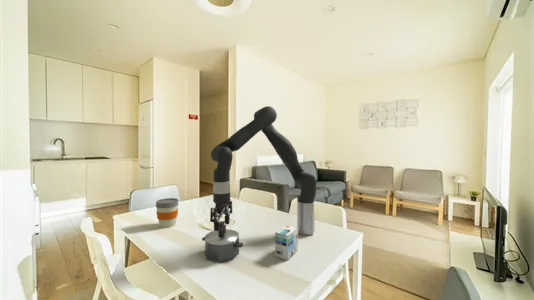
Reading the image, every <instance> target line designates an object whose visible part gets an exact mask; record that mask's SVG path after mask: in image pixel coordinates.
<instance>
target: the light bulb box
mask: <svg viewBox="0 0 534 300" xmlns="http://www.w3.org/2000/svg"><path fill="white" fill-rule="evenodd" d="M274 234H275V235H274V239H275V241H274V242H275V243H274V247H275V248H274V250H275V252H274V254H275V255H274V256H275V257H277V258H281V259H283V260H287V261H289V260H291V258H292V257H293V256H294V255H296V253H297V252H298V251H299V233H298V228H297V227H295V226H291V225H284V226H283V227H281V228H279V229H278V230H276V231H275V233H274Z"/></svg>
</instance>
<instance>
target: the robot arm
mask: <svg viewBox="0 0 534 300" xmlns="http://www.w3.org/2000/svg"><path fill="white" fill-rule="evenodd" d="M277 116H278V115H277V112H276V109H275V108H273V106H264V107H262V108H260V109H258V110H256V111H255V112H254V114H253V120H251V121H250V122H248V123H247V124H246V125H244V126H243V127H241V128H240V129H238V130H236V131H235V132H234V133H233V134H231V136H229V138H227V139H225V140H223V141H222V142H221V143H219V144H217V145H216V146H214V147H213V149H211V150H212V151H211V152H210V157H211V159H212V161H214V162H216V163H217V167H216V168H214V170H213V185H212V195H213V196H212V201H213V203H214V207H210V212H209V213H210V216H209V217H210V220H209V222H210V223H213V231H219V222H220V220H221V218H222V217H223V215H224V221H225V222H226V225H229V224H230V220H231V219H230V216H231V214H233V200H231V184H230V183H231V180H230V179H231V177H230V175H231V173H230V171H231V166H232V163H233V152H236V151H239V150H240V149H241V148H243V147H244V146H245V145H246V144H247V143H248V142H249V141H250V140H251V139H253V138H254V137H255V136H256V135H257V134H258V133H260V132H262V133H263V134H264V135H265V137H266V139H267V140H268V141H269V143H270V145H271V146H272V147H273V148H274V150H275V152H276V154H277V156H278V157H279V159H280V160H281V161H282V163H283V164H284V166H285V167H286V168H287V170H288V171H289V173H290V175H291V177H292V179H293V181H294V183H295V185H296V186H297V187H299V188H300V194H299V195H297V197H296V198H297V200H296V201H297V202H296V203H297V205H296V206H297V207H296V208H297V213H296V216H297V217H296V218H297V219H296V220H297V221H296V222H297V224H296V226H297V227H296V228H298V234H300V235H303V236H310V235H311V236H314V233H315V231H316V230H315V229H316V228H315V226H316V225H315V223H316V222H315V221H316V220H315V219H316V215H315V198H316V191H317V179H316V176H315V175H314V174H313V173H309V172H306V171H305V170H304V169H303V167H302V166H301V164H300V162H299V160H298V155H297V151H296V148H295V147H294V146H293V144H292V143H291V141H290V140H289V139H288V137H286V136H284V135H283V134H282V133H280V132H279V130H278V129H276V128H275V127H274V125H273V123H275V122H276V120H277Z"/></svg>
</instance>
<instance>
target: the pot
mask: <svg viewBox="0 0 534 300" xmlns="http://www.w3.org/2000/svg"><path fill="white" fill-rule="evenodd" d="M201 241H202V242H203V241H204V243H205V244H204V245H205V246H204V247H205V248H204V249H205V250H204V251H205V252H204V253H205V254H204V255H205V257H206V260H207V261H210V262H215V263H217V264H218V263H219V264H220V263H224V262H229V261H233V260H234V259H235V258H237V256H238V255H239V254H240V248H242V247H243V246H244V243H243V242H241V241H240V238H239V239H238V240H237V241H236V242H235V243H233V244H230V245H225V246H212V245H209V244H207V243H206V242H205V236H202V238H201Z"/></svg>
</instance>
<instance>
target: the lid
mask: <svg viewBox="0 0 534 300" xmlns="http://www.w3.org/2000/svg"><path fill="white" fill-rule="evenodd" d="M239 234H240V233H239V232H238V231H237V230H235V229H234V230H233V229H230V228H228V229H227V224H226V222H225V220H221V221H220V220H219V231H214V230H212V231H210V232H208V233H207V234H205V236H204V237H205V241H204V243H205V242H206V243H207V244H209V245H212V246H225V245H230V244H233V243H235V242H236V241H237V240H238V239H239V240H240V235H239Z"/></svg>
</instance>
